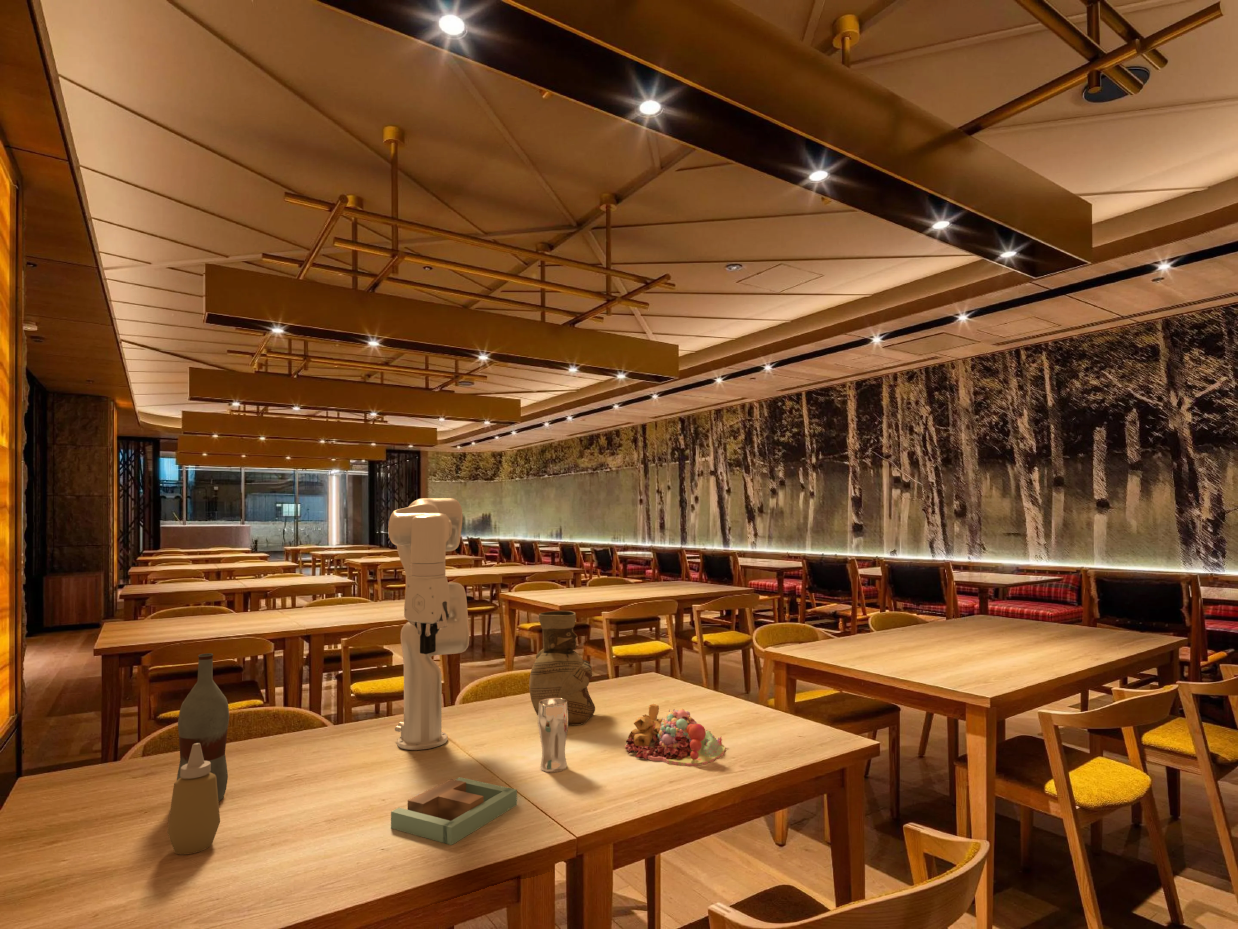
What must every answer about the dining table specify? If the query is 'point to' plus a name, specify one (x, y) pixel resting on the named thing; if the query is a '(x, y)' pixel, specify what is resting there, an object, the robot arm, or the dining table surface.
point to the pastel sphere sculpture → (673, 739)
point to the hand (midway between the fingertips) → (427, 652)
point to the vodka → (205, 723)
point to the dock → (460, 827)
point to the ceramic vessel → (561, 668)
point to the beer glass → (553, 733)
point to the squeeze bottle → (194, 806)
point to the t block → (445, 800)
